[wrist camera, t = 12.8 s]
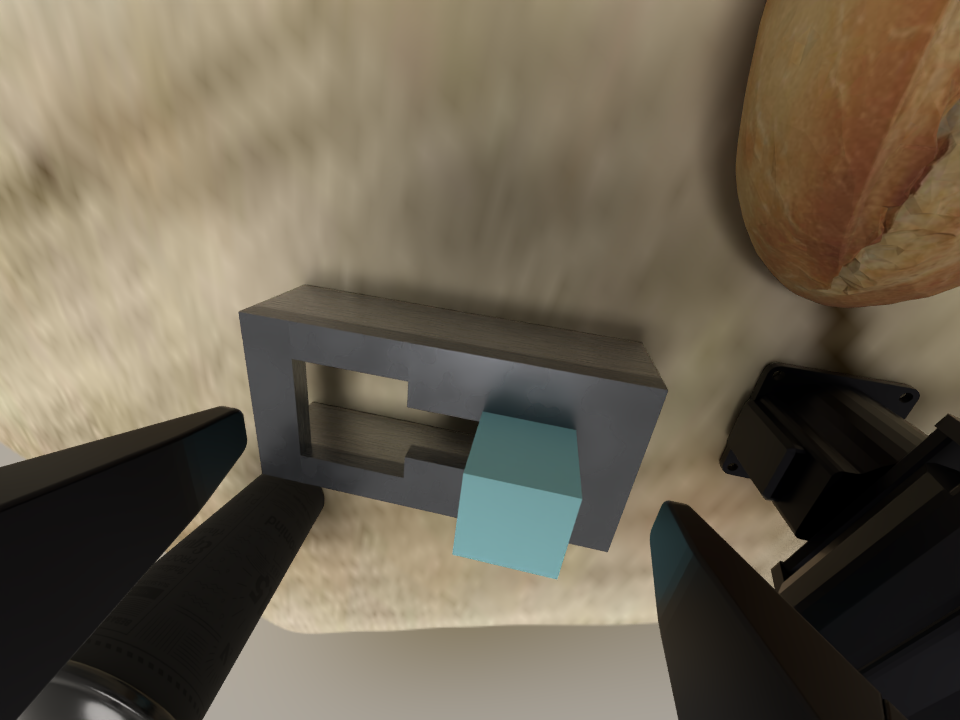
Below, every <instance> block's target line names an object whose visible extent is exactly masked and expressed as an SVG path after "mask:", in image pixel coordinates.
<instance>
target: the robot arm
mask: <svg viewBox="0 0 960 720" xmlns="http://www.w3.org/2000/svg"><path fill="white" fill-rule="evenodd" d="M777 371H780V374H779V375H778V376H776V377H773V374H774V373H775V372H777ZM905 393H906V394H905ZM902 394H905V396H903V397H902V398H900V396H901V395H902ZM919 397H920V395H919V392H918V391H917V390H916V389H914V388H913V387H911V386H909V385H906V384H901V383H895V382H889V381H883V380H877V379H872V378H866V377H860V376H854V375H848V374H842V373H837V372H831V371H825V370H819V369H813V368H807V367H802V366H796V365H790V364H784V363H772V364H769V365H768V366H766V367H765V369H764V370H763V372H762V374H761V376H760V378H759V381H758V383H757V385H756V387H755V389H754V391H753V393H752V395H751V397H750V399H749V400H748V401H747V402H746V403H745V404H744V406H743V408H742V410H741V412H740V415H739V417H738V419H737V421H736V423H735V425H734V427H733V429H732V431H731V433H730V435H729V438H728V440H727V444H728V445H727V447H726V449H725V451H724V453H723V455H722V457H721V459H720V466H721V468H722V470H723V471H724V472H725V473H727V474H730V475H735V476H740V477H745V478H750V479H751V480H752V481H753V483H754V484H755V486H756V487H757V489H758V490H759V492H760V493H761V495H762V496H763V498H764V499H765V500H769V501H772V502H773V504H774V505H775V507H776V508H777V510H778V511H779V513H780V514H781V516H782V517H783V518H784V520H785V521H786V523H787V524H788V526H789V527H790V529H791V530H792V532H793V533H794V535H795V536H796V537H797V538H799V539H802V540H807V542H806V543H805V544H804V545H803V546H802V547H801V548H799V549H798V550H797V551H796V552H795V553H794V554H792V555H791V556H790V557H789V558H788V559H787V560H786V561H784V562H782V561H780V562H779V563H777V564H776V565H775V566H774V567H773V568H772V569H771V573H772V577H773V582H774V587H775V589H774V588H773V587H772V586H771V585H770V584H769V583H768V582H767V581H766V580H765V579H764V578H763V577H762V576H761V575H760V574H758V573H757V572H756V571H755V570H754V569H753V568H752V567H751V566H750V565H749V564H748V563H747V562H746V561H745V560H744V559H743V558H742V557H741V556H740V555H739V554H738V553H737V552H736V551H735V550H734V549H733V548H732V547H731V546H730V545H729V544H728V543H727V542H726V541H725V540H724V539H723V538H722V537H721V536H720V535H719V534H718V533H717V532H716V531H715V530H714V529H713V528H712V527H710V526H709V525H708V524H707V523H706V522H705V521H704V520H703V519H702V518H701V517H700V516H699V515H698V514H697V513H696V512H695V511H694V510H693V509H692V508H691V507H690V506H689V505H687V504H683V503H679V502H674V501H665V502H664V503H663V504H662V506H661V508H660V511H659V513H658V515H657V518H656V520H655V522H654V525H653V527H652V529H651V533H650V547H651V557H652V567H653V577H654V587H655V597H656V607H657V615H658V623H659V628H660V633H661V638H662V643H663V648H664V653H665V658H666V662H667V667H668V672H669V677H670V682H671V687H672V691H673V696H674V701H675V706H676V710H677V715H678V720H960V418H958V417H955V416H953V415H951V414H947V415H946V416H945V417H944V418H943V419H941V420H940V421H939V422H938V423H937V424H936V425H935V427H937V429H936V430H935V431H934V432H933V433H931V434H930V435H929V436H928V435H926V434H925V433H923V432H922V431H920V430H919V429H917V428H916V427H914V426H913V425H912V424H910V423H909V422H907V421H906V420H905V418H906V417H907V415H908V414H909V412H910V411H911V410H912V408H913V407H914V405H915V404H916V402H917V401H918V399H919ZM246 445H247V435H246V429H245V422H244V416H243V413H242V412H241V411H240V410H239V409H235V408H230V407H226V406H219V407H215V408H212V409H208V410H204V411H201V412H197V413H194V414H190V415H186V416H183V417H179V418H176V419H172V420H168V421H165V422H161V423H158V424H154V425H150V426H147V427H143V428H140V429H136V430H132V431H129V432H125V433H122V434H118V435H114V436H111V437H107V438H104V439H100V440H96V441H93V442H89V443H86V444H82V445H78V446H75V447H71V448H68V449H64V450H61V451H57V452H53V453H50V454H46V455H43V456H39V457H35V458H32V459H28V460H25V461H21V462H17V463H14V464H10V465H7V466H3V467H0V720H17V719H18V718H19V717H20V715H21V714H22V713H23V712H24V711H25V710H26V709H27V707H28V706H29V705H30V704H31V703H32V702H33V701H34V700H35V698H36V697H37V696H38V695H39V694H40V693H41V692H42V690H43V689H44V688H45V687H46V686H47V685H48V684H49V682H50V681H51V680H52V679H53V678H54V677H55V676H56V674H57V673H58V672H59V671H60V670H61V669H62V668H63V667H64V665H65V664H66V663H67V662H68V661H69V660H70V659H71V657H72V656H73V655H74V654H75V653H76V652H77V651H78V649H79V648H80V647H81V646H82V645H83V644H84V643H85V642H86V640H87V639H88V638H89V637H90V636H91V635H92V634H93V632H94V631H95V630H96V629H97V628H98V627H99V626H100V624H101V623H102V622H103V621H104V620H105V619H106V618H107V616H108V615H109V614H110V613H111V612H112V611H113V610H114V609H115V607H116V606H117V605H118V604H119V603H120V602H121V601H122V599H123V598H124V597H125V596H126V595H127V594H128V593H129V591H130V590H131V589H132V588H133V587H134V586H135V585H136V583H137V582H138V581H139V580H140V579H141V578H142V577H143V576H144V574H145V573H146V572H147V571H148V570H149V569H150V568H151V566H152V565H153V564H154V563H155V562H156V561H157V560H158V558H159V557H160V556H161V555H162V554H163V553H164V552H165V551H166V549H167V548H168V547H169V546H170V545H171V544H172V543H173V541H174V540H175V539H176V538H177V537H178V536H179V535H180V533H181V532H182V531H183V530H184V529H185V528H186V527H187V525H188V524H189V523H190V522H191V521H192V520H193V519H194V517H195V516H196V515H197V514H198V513H199V511H200V510H201V509H202V508H203V506H204V505H205V504H206V502H207V501H208V500H209V498H210V497H211V496H212V494H213V493H214V492H215V490H216V489H217V487H218V486H219V485H220V483H221V482H222V481H223V479H224V478H225V476H226V475H227V474H228V472H229V471H230V470H231V468H232V467H233V466H234V464H235V463H236V461H237V460H238V459H239V457H240V456H241V455H242V453H243V452H244V450H245V448H246ZM731 463H735V464H734V465H732V466H728V465H729V464H731Z"/></svg>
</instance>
